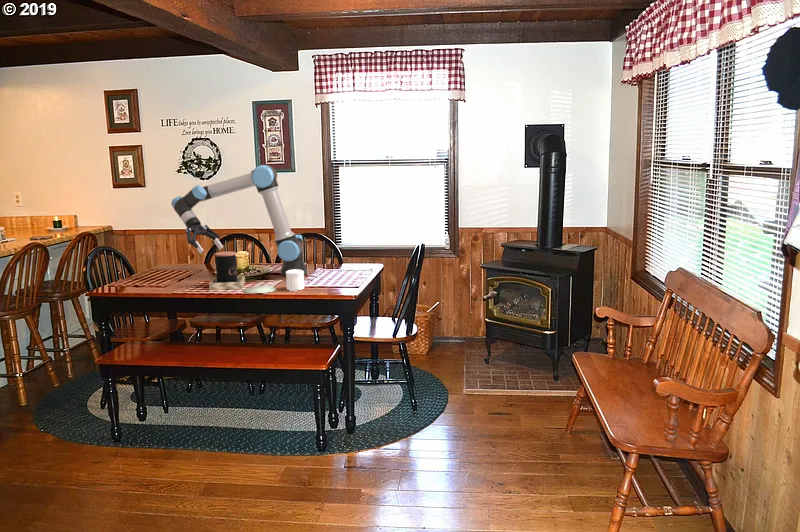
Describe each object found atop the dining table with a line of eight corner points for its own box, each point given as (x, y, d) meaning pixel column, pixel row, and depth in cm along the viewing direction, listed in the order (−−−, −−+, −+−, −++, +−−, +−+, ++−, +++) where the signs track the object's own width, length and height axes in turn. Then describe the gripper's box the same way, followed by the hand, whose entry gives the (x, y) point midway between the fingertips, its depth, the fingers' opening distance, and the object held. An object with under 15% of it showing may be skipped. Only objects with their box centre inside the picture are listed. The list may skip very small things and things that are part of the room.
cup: (288, 292, 333) (287, 273, 331) (283, 288, 342) (283, 270, 340) (307, 290, 336) (306, 271, 335) (301, 286, 345) (301, 268, 344)
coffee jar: (232, 288, 343) (230, 254, 340) (213, 288, 345) (211, 254, 342) (241, 284, 353) (239, 251, 350) (223, 284, 355) (220, 251, 352)
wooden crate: (245, 282, 358) (244, 276, 357) (241, 288, 342) (241, 282, 341) (214, 283, 356) (213, 277, 355) (209, 290, 340) (209, 283, 339)
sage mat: (276, 286, 346) (276, 285, 346) (274, 293, 331) (274, 292, 331) (245, 287, 344) (245, 286, 344) (242, 294, 329) (242, 293, 329)
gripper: (206, 223, 369) (226, 251, 363) (169, 228, 348) (190, 258, 343) (211, 214, 365) (232, 242, 360) (175, 218, 344) (196, 248, 339)
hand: (211, 250), depth 351 cm, fingers open, 13 cm apart
